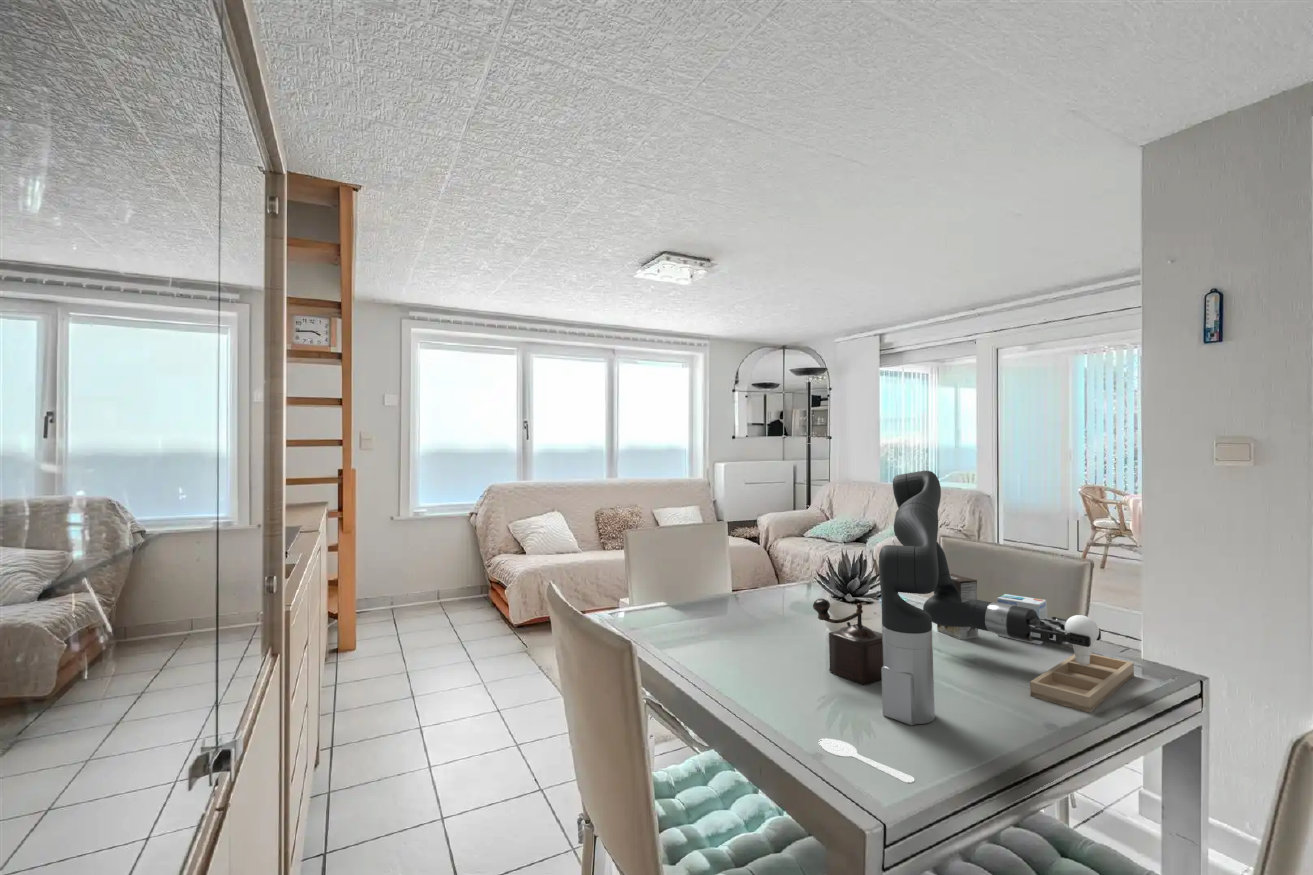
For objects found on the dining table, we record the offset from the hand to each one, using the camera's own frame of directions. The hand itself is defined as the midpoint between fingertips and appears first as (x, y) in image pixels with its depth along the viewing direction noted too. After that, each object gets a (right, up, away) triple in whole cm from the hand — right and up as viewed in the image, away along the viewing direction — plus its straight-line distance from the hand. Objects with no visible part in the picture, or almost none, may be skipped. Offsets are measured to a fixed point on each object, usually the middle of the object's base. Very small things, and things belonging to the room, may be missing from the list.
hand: (1095, 638), depth 128 cm
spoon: (-60, -12, -27) cm, 67 cm away
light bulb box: (+6, -12, +35) cm, 37 cm away
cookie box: (-10, -12, +39) cm, 42 cm away
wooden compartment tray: (-1, -11, +1) cm, 11 cm away
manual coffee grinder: (-49, -12, +10) cm, 52 cm away
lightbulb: (-1, -7, +2) cm, 7 cm away
